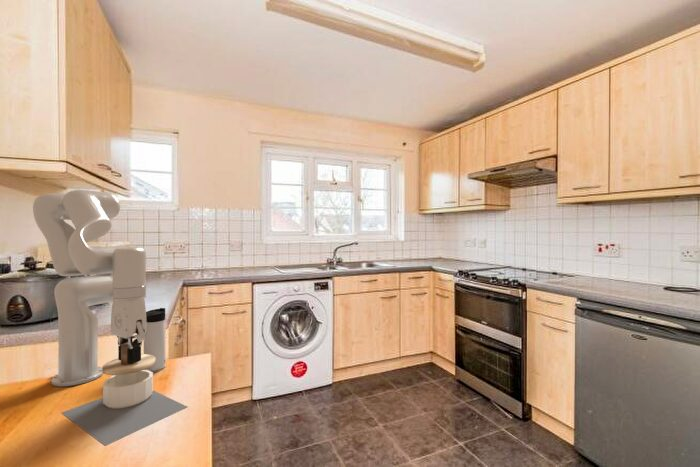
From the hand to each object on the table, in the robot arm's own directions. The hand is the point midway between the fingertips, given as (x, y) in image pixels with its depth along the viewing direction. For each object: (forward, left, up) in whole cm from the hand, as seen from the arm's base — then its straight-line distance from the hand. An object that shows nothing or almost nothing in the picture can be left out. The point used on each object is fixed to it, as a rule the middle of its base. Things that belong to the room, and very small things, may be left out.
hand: (129, 359), depth 90 cm
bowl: (0, 0, -11) cm, 11 cm away
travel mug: (-15, +14, -11) cm, 24 cm away
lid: (0, 0, -2) cm, 2 cm away
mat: (+5, -3, -11) cm, 13 cm away
